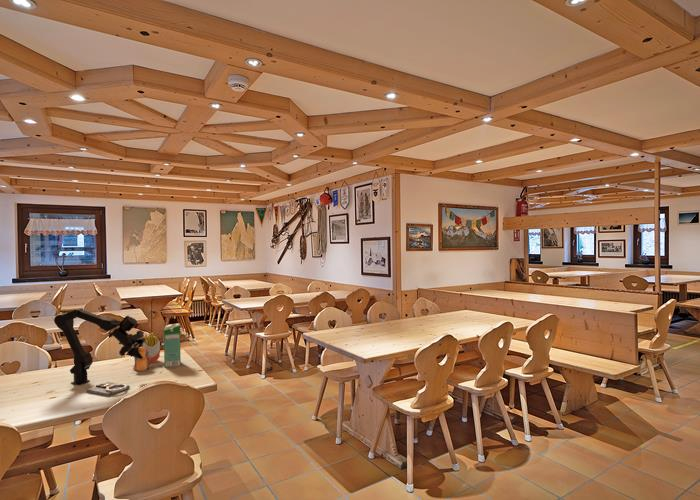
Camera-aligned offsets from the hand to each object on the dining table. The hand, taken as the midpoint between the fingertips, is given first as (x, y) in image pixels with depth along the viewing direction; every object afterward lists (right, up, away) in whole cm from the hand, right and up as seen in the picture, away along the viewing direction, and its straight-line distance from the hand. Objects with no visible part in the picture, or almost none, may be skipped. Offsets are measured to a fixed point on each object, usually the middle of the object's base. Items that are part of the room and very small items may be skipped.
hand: (144, 357), depth 225 cm
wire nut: (-1, -7, 0) cm, 7 cm away
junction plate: (-11, -14, -13) cm, 22 cm away
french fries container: (-14, -13, +37) cm, 41 cm away
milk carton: (+2, -13, +31) cm, 34 cm away
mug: (-12, -13, +23) cm, 29 cm away
